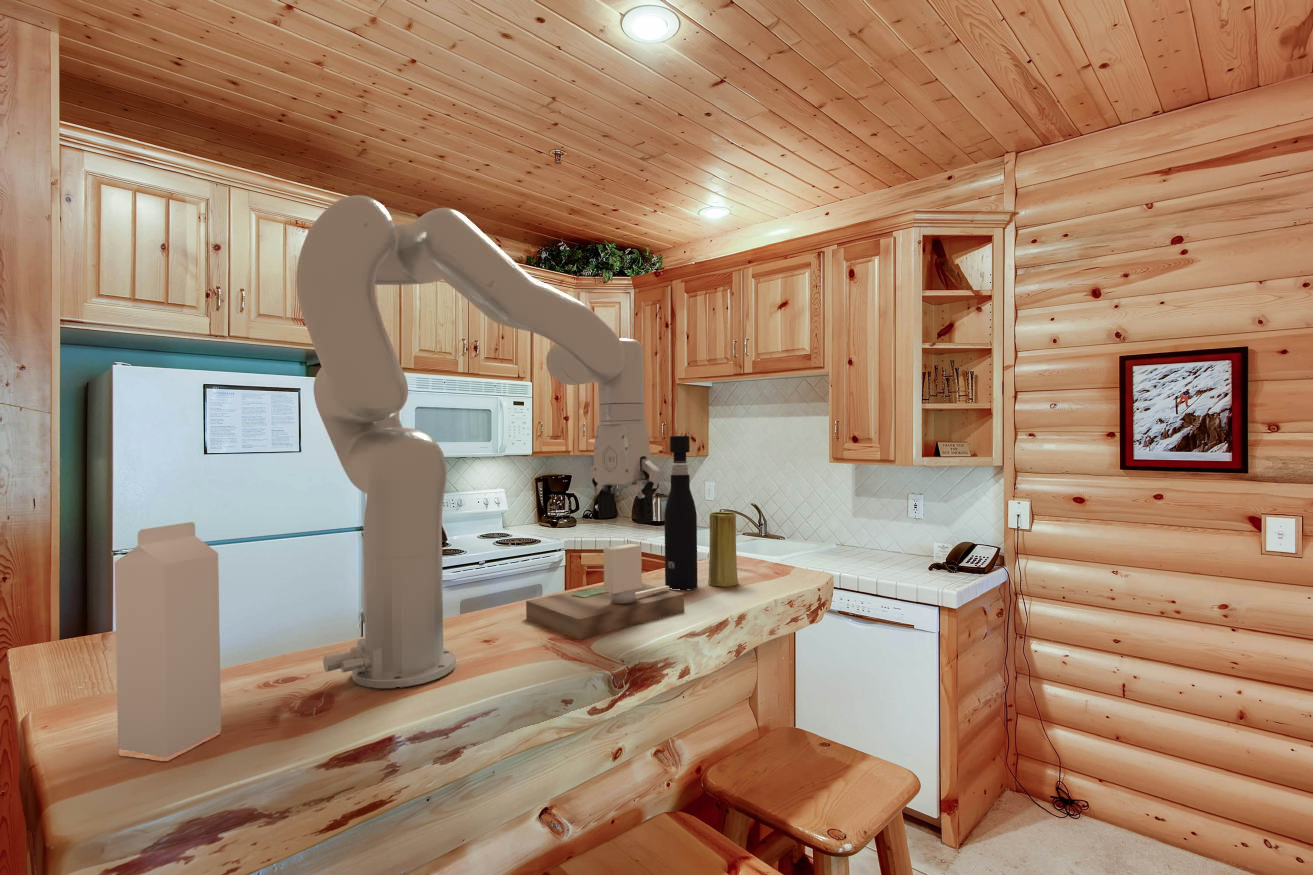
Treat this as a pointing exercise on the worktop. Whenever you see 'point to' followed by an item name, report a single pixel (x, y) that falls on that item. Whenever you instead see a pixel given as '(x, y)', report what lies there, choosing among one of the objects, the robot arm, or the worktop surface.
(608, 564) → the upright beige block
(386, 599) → the robot arm
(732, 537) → the vase
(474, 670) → the worktop surface
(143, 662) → the milk
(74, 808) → the worktop surface
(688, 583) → the black bottle
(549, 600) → the dial board
